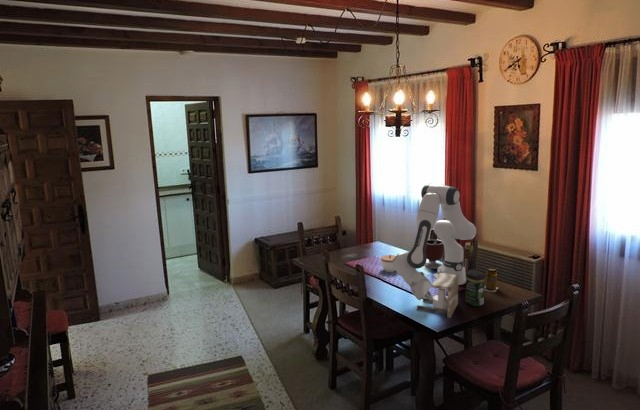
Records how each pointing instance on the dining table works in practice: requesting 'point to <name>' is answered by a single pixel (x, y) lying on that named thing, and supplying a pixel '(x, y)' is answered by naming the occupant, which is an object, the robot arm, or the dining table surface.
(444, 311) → the shelf
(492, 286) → the condiment
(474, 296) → the coffee jar
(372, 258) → the dining table surface
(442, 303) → the base with upright slab
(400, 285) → the dining table surface
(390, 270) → the lidded bowl
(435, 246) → the mate gourd
